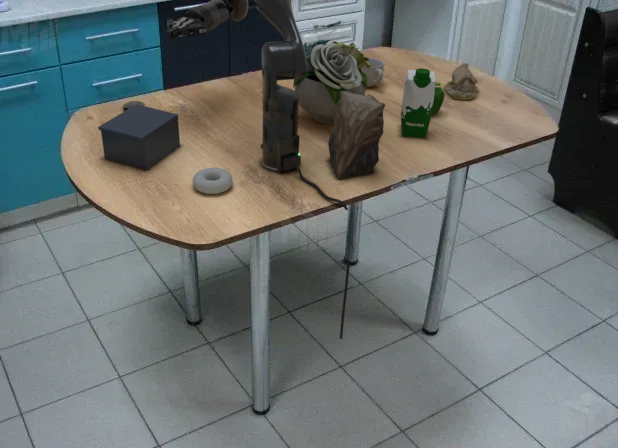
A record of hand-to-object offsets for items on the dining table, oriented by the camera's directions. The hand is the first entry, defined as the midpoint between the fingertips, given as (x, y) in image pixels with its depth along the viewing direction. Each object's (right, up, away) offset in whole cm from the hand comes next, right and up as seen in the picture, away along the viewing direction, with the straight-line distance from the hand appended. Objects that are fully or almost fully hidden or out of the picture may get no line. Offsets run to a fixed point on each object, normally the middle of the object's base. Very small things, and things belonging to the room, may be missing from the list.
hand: (168, 35), depth 180 cm
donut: (+13, -41, -10) cm, 45 cm away
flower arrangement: (+44, -18, +26) cm, 54 cm away
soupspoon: (-13, -19, +20) cm, 31 cm away
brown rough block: (+48, -36, 0) cm, 60 cm away
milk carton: (+69, -23, +21) cm, 76 cm away
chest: (-8, -31, +3) cm, 32 cm away
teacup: (+58, -3, +50) cm, 77 cm away
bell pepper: (+76, -15, +33) cm, 84 cm away
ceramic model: (+90, -6, +48) cm, 102 cm away
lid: (-7, -24, -2) cm, 25 cm away
